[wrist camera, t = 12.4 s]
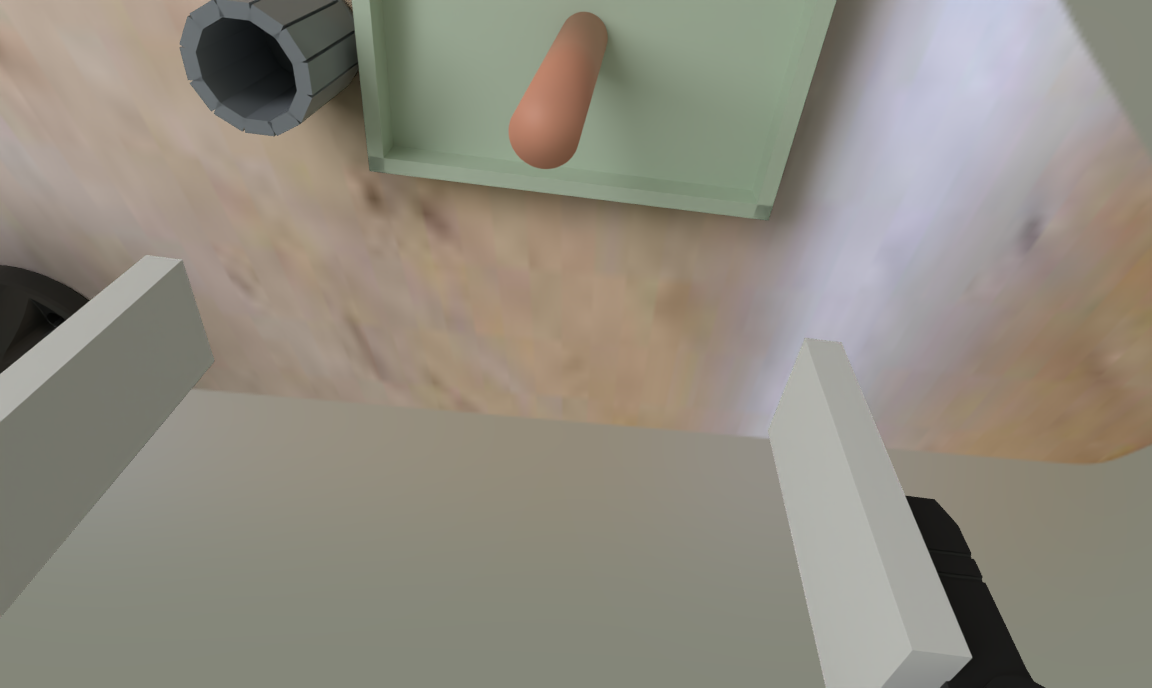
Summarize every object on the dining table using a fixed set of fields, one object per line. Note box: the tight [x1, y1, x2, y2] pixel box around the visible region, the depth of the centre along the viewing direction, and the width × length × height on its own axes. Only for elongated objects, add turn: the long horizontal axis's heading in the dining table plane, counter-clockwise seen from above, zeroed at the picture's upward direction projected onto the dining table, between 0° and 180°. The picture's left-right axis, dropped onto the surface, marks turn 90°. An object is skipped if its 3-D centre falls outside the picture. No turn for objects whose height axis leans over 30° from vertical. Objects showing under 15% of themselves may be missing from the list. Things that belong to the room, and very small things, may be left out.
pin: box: [508, 12, 608, 169], centre depth 31 cm, size 6×3×16 cm, turn 84°
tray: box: [352, 0, 836, 220], centre depth 37 cm, size 26×18×3 cm
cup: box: [180, 0, 359, 136], centre depth 36 cm, size 7×7×8 cm
